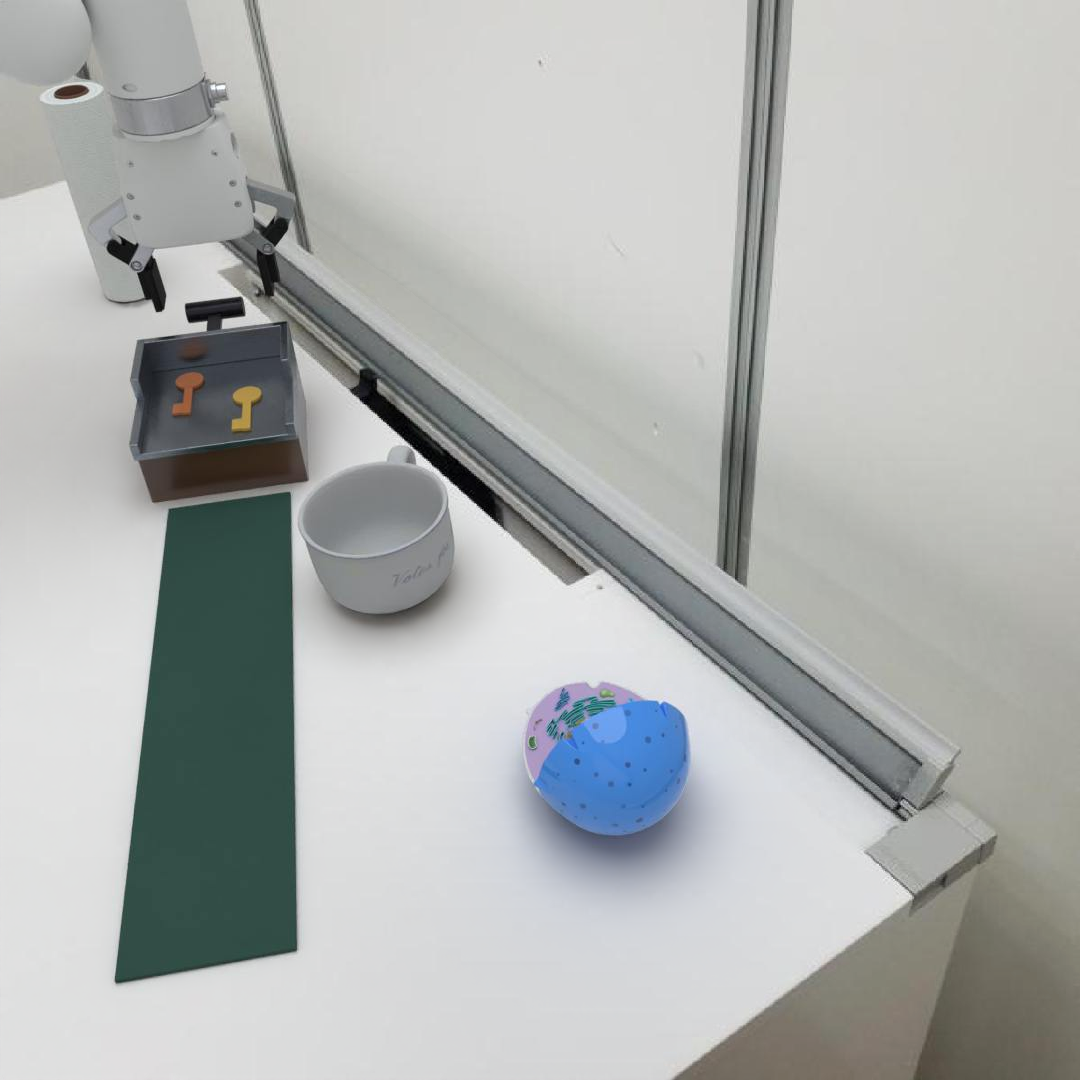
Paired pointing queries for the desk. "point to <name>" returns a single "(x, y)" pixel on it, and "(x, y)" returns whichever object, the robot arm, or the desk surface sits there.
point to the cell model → (607, 756)
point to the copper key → (187, 392)
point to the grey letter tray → (213, 384)
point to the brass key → (245, 406)
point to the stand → (231, 465)
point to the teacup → (379, 534)
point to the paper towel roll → (91, 173)
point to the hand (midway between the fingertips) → (216, 297)
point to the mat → (216, 748)
